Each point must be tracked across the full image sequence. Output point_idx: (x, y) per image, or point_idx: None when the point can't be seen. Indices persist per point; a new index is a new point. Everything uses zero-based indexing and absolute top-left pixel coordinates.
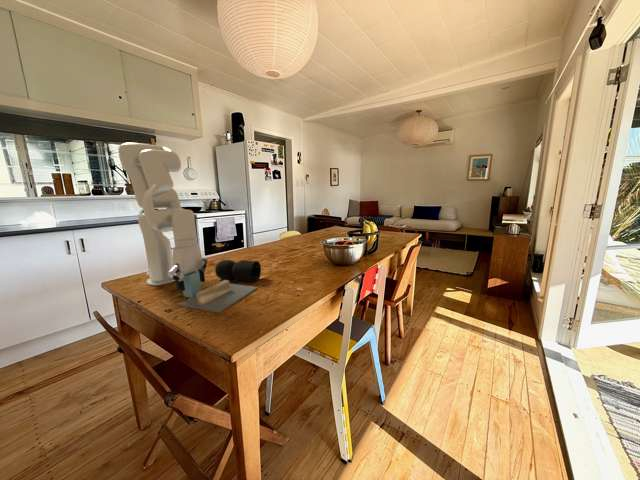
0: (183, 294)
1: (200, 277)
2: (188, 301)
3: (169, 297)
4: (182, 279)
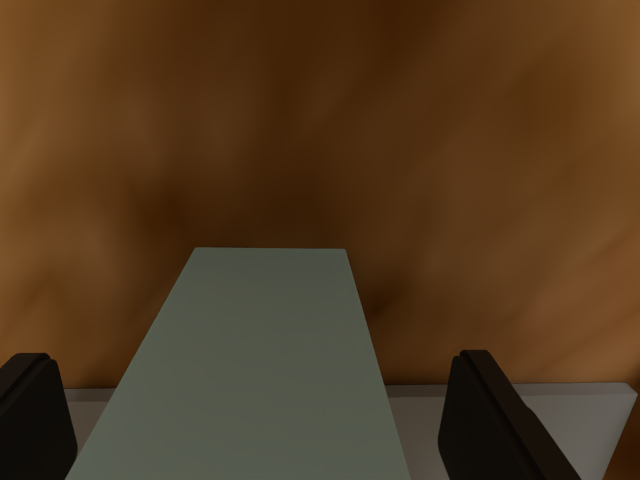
0: (190, 257)
1: (474, 468)
2: (86, 440)
3: (79, 87)
4: (96, 464)
